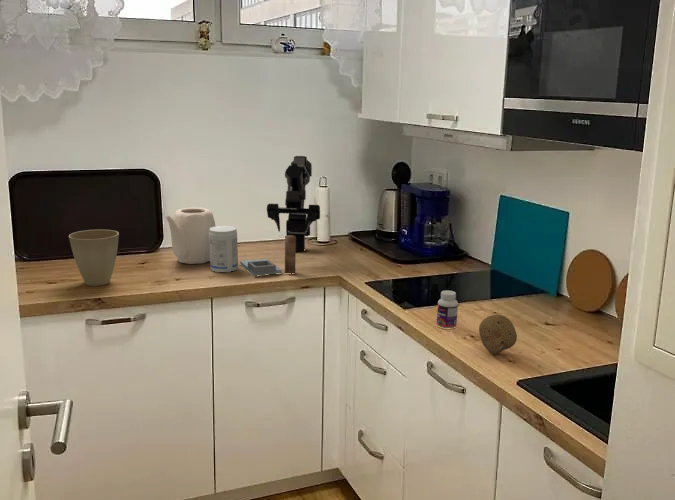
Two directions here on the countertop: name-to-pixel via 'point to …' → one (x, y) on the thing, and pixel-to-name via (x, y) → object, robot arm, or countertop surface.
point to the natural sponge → (497, 333)
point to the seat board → (260, 267)
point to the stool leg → (290, 253)
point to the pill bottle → (447, 310)
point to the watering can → (191, 234)
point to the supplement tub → (223, 248)
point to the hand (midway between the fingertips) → (292, 231)
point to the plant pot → (95, 254)
